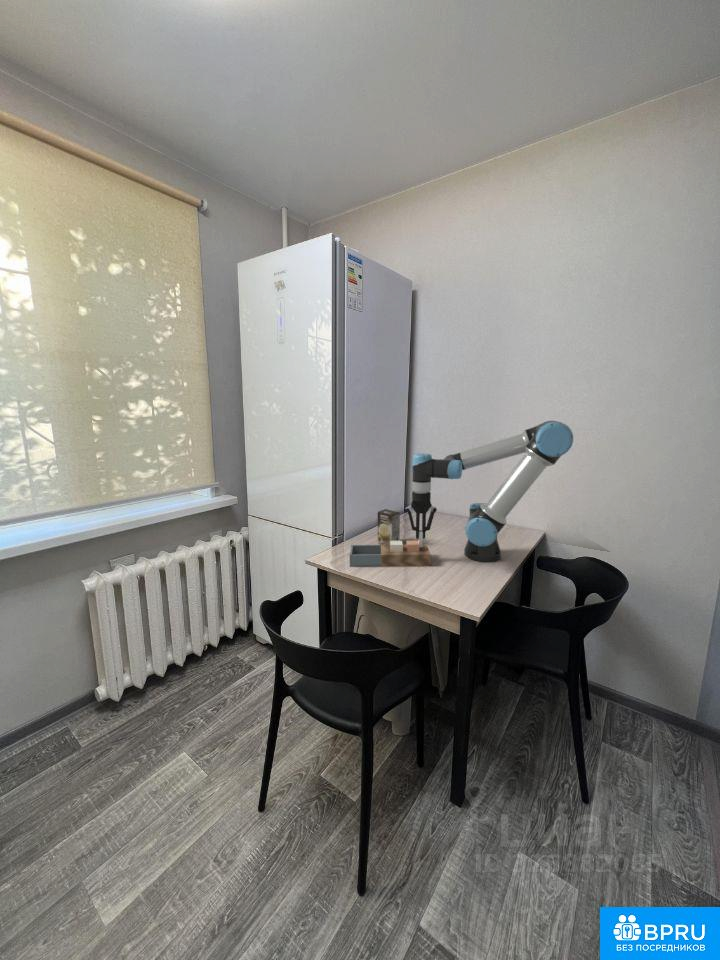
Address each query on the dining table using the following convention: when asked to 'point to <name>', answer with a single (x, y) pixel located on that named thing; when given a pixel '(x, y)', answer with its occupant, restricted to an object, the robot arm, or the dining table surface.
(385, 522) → the coffee box
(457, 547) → the dining table surface
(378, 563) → the box
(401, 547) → the tile cream
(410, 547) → the tile terracotta
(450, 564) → the dining table surface
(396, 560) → the wooden tile board
